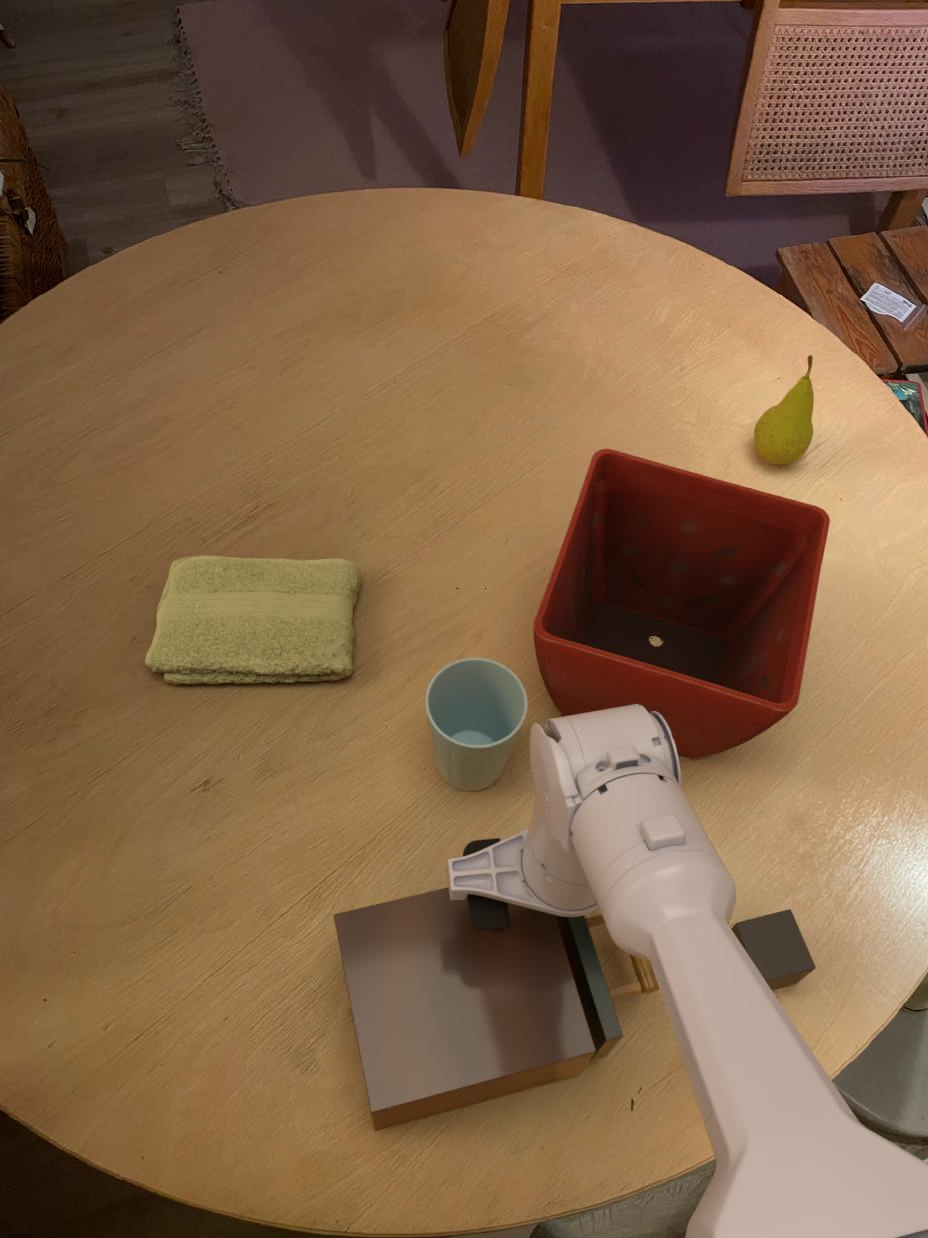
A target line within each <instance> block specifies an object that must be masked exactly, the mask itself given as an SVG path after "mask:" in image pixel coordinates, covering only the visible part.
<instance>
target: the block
mask: <svg viewBox="0 0 928 1238" xmlns="http://www.w3.org/2000/svg"><path fill="white" fill-rule="evenodd" d="M730 928H731V930H732V931H733V933H734V934H735V936H736V937H737V939H738V940H739V942H740V943H741V945H742V946H743V948H744V949H745V951H746V952H747V954H748V955H749V957H750V958H751V960H752V961H753V963H754V964H755V966H756V967H757V969H758V970H759V972H760V973H761V975H762V976H763V978H764V979H765V981H766V982H767V984H768V986H769V987H770V989H771V990H772V991H775V990H778V989H784V988H787V987H790V986H794V985H797V984H798V983H799V982H800V981H802V980H803V979H804V978H805V977H807V976H808V975H809V974H811V972H813V971H815V970H816V968H817V967H816V965H815V963H814V961H813V957H812V955H811V954H810V951H809V948H808V946H807V944H806V941H805V939H804V937H803V935H802V932H801V930H800V928H799V925H798V923H797V921H796V919H795V915H794V914H793V911H792V909H791V908H788V909H785V910H781V911H777V912H773V913H769V914H764V915H761V916H758V917H754V918H750V919H745V920H742V921H736V922H735V923H734V925H733V926H732V927H730Z"/></svg>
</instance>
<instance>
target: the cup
mask: <svg viewBox="0 0 928 1238" xmlns="http://www.w3.org/2000/svg"><path fill="white" fill-rule="evenodd" d="M424 699H425V700H424V705H425V712H426V717H427V722H428V726H429V729H430V734H431V741H432V746H433V750H434V755H435V759H436V760H435V761H436V764H437V769H438V772H439V773H440V775H441V776H442V778H443V779H444V781H445V782H446V783H448V784H449V785H450V786H451V787H454V788H455V789H457V790H460V791H464V792H465V791H466V792H476V791H477V792H478V791H481V790H485V789H486V788H489V787H490V786H492V785H493V784H494V783H495V782H496V781H497V780H498V779H499V778H500V775H501V774H502V772H503V769H504V767H505V765H506V762H507V760H508V758H509V756H510V753H511V751H512V749H513V747H514V744H515V742H516V740H517V738H518V736H519V734H520V732H521V729H522V727H523V725H524V723H525V721H526V718H527V714H528V710H529V700H528V694H527V691H526V688H525V686H524V684H523V682H522V680H521V679H520V678H519V676H518V675H517V674H516V673H515V672H514V671H513V670H511V669H510V668H509V667H508V666H506V665H504V664H502V663H501V662H498V661H497V660H493V659H489V658H485V657H466V658H465V657H464V658H460V659H457V660H455V661H452V662H450V663H448V664H446V665H445V666H444V667H442V668H441V669H440V670H438V672H436V673H435V675H434V676H433V677H432V679H431V680H430V682H429V684H428V686H427V688H426V692H425V698H424Z"/></svg>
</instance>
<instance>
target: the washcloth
mask: <svg viewBox="0 0 928 1238" xmlns="http://www.w3.org/2000/svg"><path fill="white" fill-rule="evenodd" d="M361 583H362V573H361V568H359V566H358V565H357V564H355V562H352V561H351V560H348V559H346V558H343V557H339V558H334V557H328V558H318V559H306V558H295V559H291V558H283V557H282V558H269V557H260V558H259V557H256V558H253V557H250V558H249V557H235V556H222V555H200V554H199V555H196V556H186V555H185V556H184V557H179V558H177V559H175V560H173V561H172V562H171V565H170V568H169V571H168V577H167V580H166V583H165V585H164V587H163V591H162V593H161V598H160V599H159V602H158V604H157V607H156V615H155V616H156V617H155V619H156V620H155V621H156V626H155V631H154V635H153V638H152V642H151V645H150V647H149V649H148V650H147V652H146V655H145V659H144V664H145V667H146V668H147V669H150V670H152V673H154V672H155V673H162V672H163V676H164V677H163V678H164V682H165V683H167V684H173V685H174V686H177V685H183V684H185V685H199V684H207V685H220V684H231V683H234V684H237V685H240V684H245V685H246V684H247V685H249V684H251V685H252V684H263V683H265V684H267V683H268V684H276V683H284V684H290V683H292V684H294V683H296V682H298V683H299V682H301V683H304V682H313V683H316V682H317V683H318V682H323V681H329V682H334V681H335V682H337V681H339V680H341V679H345V678H349V677H350V676H351V675H352V674H353V670H354V666H353V664H354V660H353V659H354V658H353V657H354V655H353V651H354V649H355V648H354V644H353V643H354V639H355V636H356V635H355V634H356V631H355V628H354V627H353V617H354V607H355V606H356V603H357V601H358V596H359V595H358V592H359V591H360V589H359V588H360V586H361Z"/></svg>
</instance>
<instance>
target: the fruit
mask: <svg viewBox="0 0 928 1238" xmlns="http://www.w3.org/2000/svg"><path fill="white" fill-rule="evenodd" d="M813 360H814V359H813V355H811V354H810V355H808V356H807V359H806V361H807V366H808V367H807V370H806V371H807V372H806V374H805V375H803V376H801V377H800V378H799V379H798V380H797V382H796V384H794V386H793V387H792V388H791V389H790V390H789V391H787V393H786V394H785V396H783V398H782V399H781V401H780V402H779V403H777V404H776V405H773V406H771V407H770V408H768V409H767V410H766V411H764V412H763V413H762V414H761V416H760V417H759V418H758V420H757V422H756V423H755V426H754V429H753V441H754V447H755V449H756V453H757V454H758V456H759V457H760V458H761V459H762V460H764V461H765V462H767V463H768V464H772V465H778V466H779V465H780V466H782V465H788V464H791V463H794V462H796V461H797V460H799V459H800V458H802V457H803V456H804V454H806V453H807V450H808V449H809V447H810V445H811V443H812V440H813V436H814V425H813V412H814V404H815V403H814V402H815V398H814V396H815V394H814V388H813V384H812V380H811V378H810V375H811V371H812V368H813Z"/></svg>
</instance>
